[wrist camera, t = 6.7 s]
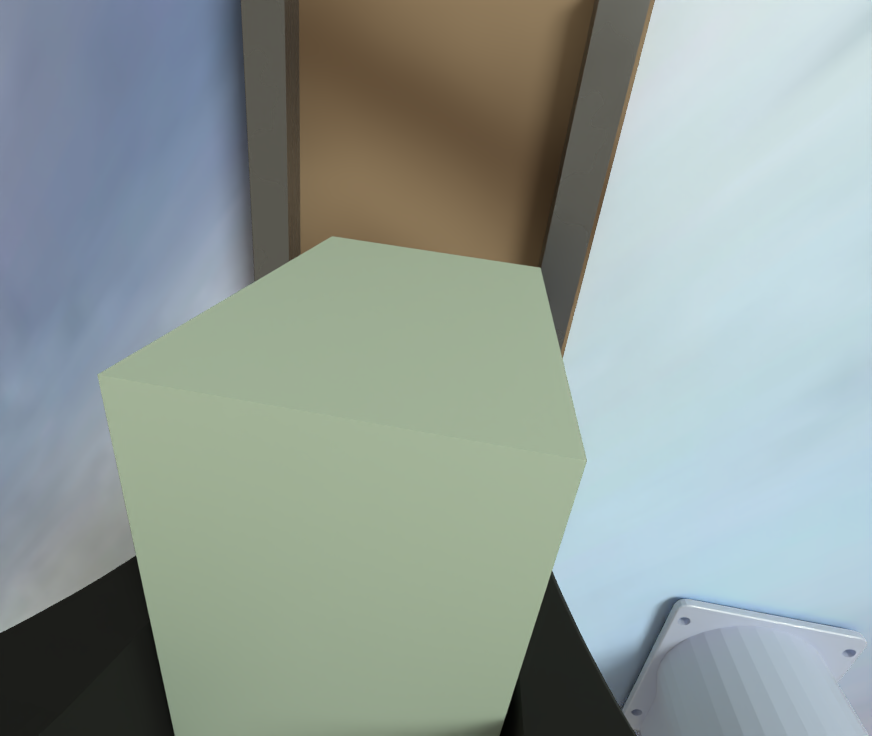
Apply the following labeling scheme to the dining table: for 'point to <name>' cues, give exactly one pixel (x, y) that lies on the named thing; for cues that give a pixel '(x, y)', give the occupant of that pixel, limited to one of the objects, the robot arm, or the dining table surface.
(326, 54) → the floor track
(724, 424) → the dining table surface
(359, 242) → the pale green block
